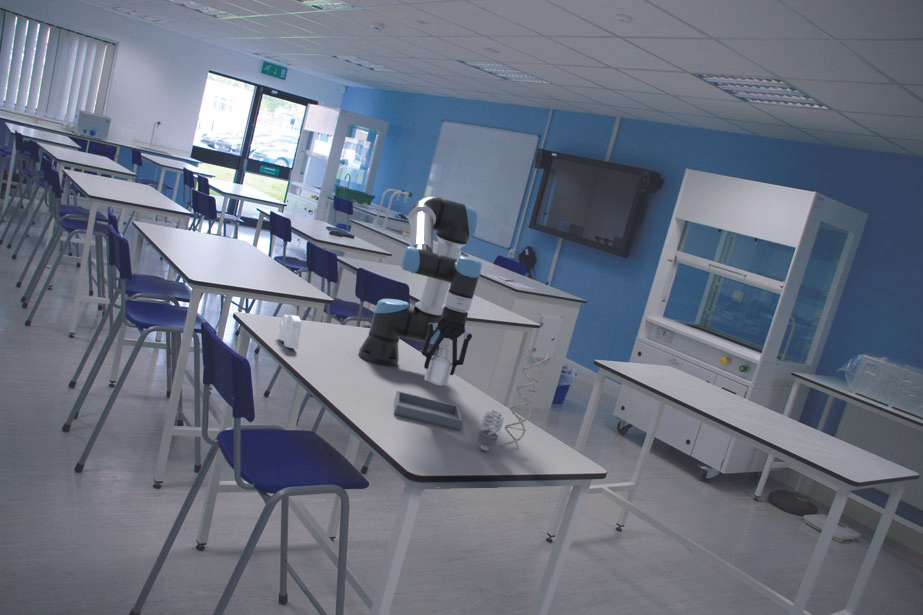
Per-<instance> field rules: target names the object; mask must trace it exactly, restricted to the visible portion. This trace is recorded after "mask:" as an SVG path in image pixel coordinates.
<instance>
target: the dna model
mask: <svg viewBox="0 0 923 615" xmlns="http://www.w3.org/2000/svg"><path fill="white" fill-rule="evenodd" d="M531 350H532V349H531V348H529V349H528V354H529V355H530V358H532V360H533V361H534V362H535V363H533V364H531V365H527V366H523V368H522V374H523V375H524V376H525V378H526V379H527V380H528V381H529V383H527V384H526V383H524V384H523V385H520V386H517V388H516V390H515V391H516V392H517V394H518V395H519V396H520V398H521V400H523V401H524V402H522V403H518V404H515V405H512V406H511V407H510V411H511V413H512V414H513V415H514V416H515V418H516V419H517V420H518V421H517V422H513V423H509V424H506V425H505V426H504V429H505V431H506V432H507V433H508V435H509V436H510V437H511V438H512V439H513V440H512V441H507V442H504V443H500V446H506V445H507V446H508V445H510V444H513V443H515V444H516V448H517V449H520V447H519V443H518V441H521V439H522V438H523V437H524V436H525V433H526V431H527V429H526V428H525V424H524V422H527V420H529V418H531V414H532V412H533V410H532V409H531V407H530V404H529V403H532V402H533V401H534V400H535V399H536V397H537V393H538V392H539V391H538V390H537V387H536V385H535V384H536V383H538V382H540V381H541V380H542V379H543V373H544V371H543V369H542V366H541V364H544V363H545V362H546V361H547V360H548V359H549V355H550V353H548V352H547V354H546V357H545V358H544V359H542V360H541V359H539V358H537V357H536V356H535V355H533V354H532V353H531ZM533 367H538V368H539V370H535V369H531V368H533ZM525 370H529V371H531V372H533V371H534V372H536V373H540V375H539V376H538V378H537V379H536V380H535V379H534V378H531V377H530V376H529V375H527V373H526V372H525ZM531 385H532V387H533V390H531V389H526V388H525V387H528V386H531ZM520 390H525V391H528V392H532V393H534V396H533V397H532V398H531V399H530V400H529V399H528V398H526V397H525V396H524V395H522V393H521V392H520ZM524 405H525V406H527V408H528V409H524V408H523V409H522V408H521V406H524ZM514 409H517V410H523V411H526V412H528V415H527V416H526V417H525V418H524V419H523V418H522V417H520V416H519V415H518V414H516V412H515V411H514ZM517 425H521V426H522V428H517V427H512V426H517ZM508 428H510V429H513V430H518V431H522V434H521V435H520V436H519V437H518V438H516V437H515V436H513V434H512V433H511V432H510V431H509V429H508Z"/></svg>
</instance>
